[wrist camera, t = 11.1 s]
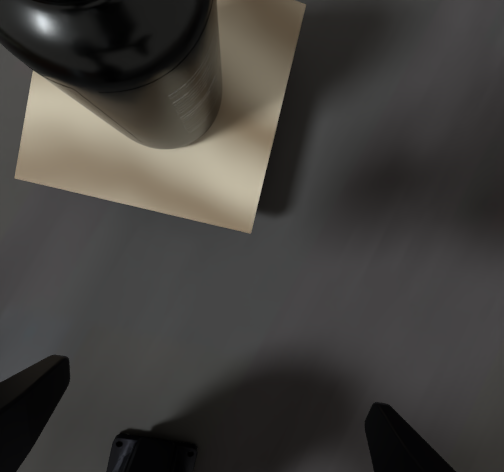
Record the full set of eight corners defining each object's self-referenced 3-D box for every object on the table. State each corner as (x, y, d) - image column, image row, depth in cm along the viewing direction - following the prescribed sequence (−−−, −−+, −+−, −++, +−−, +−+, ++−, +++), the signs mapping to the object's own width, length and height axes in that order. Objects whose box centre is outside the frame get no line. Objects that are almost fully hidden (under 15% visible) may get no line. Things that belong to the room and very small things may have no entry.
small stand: (246, 229, 20) (250, 233, 17) (54, 184, 19) (14, 178, 15) (292, 41, 19) (306, 4, 16) (92, -23, 18) (59, -80, 14)
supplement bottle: (193, 12, 15) (71, -724, 3) (240, 127, 16) (279, -120, 4) (80, 55, 15) (-527, -590, 3) (133, 170, 16) (-164, 39, 4)
